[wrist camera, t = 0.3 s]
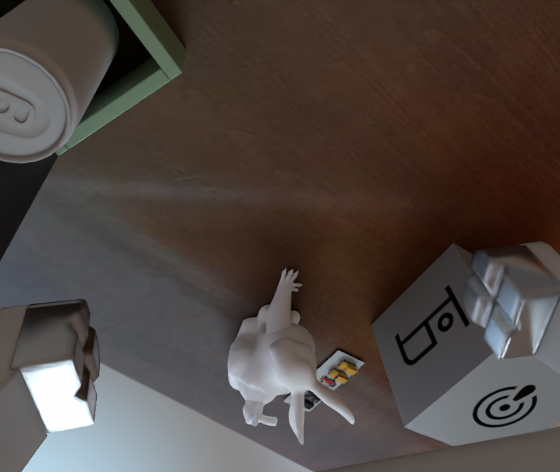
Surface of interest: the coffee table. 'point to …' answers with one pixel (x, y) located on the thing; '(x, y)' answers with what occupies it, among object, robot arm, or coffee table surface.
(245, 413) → the rabbit figurine
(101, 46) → the beverage can
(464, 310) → the icon cube
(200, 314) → the coffee table surface
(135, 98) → the stand
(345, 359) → the toy car tray
